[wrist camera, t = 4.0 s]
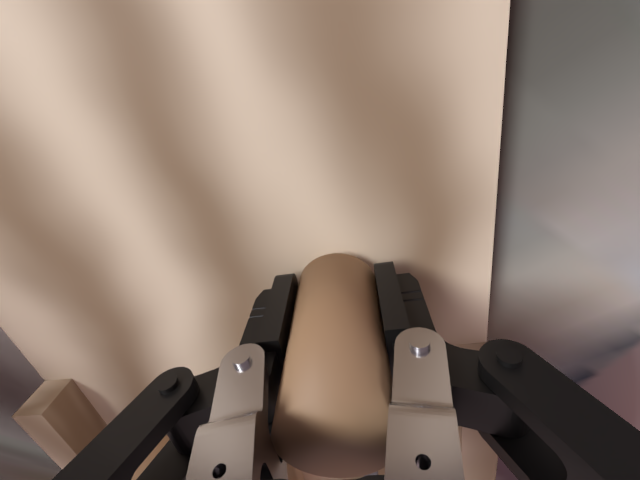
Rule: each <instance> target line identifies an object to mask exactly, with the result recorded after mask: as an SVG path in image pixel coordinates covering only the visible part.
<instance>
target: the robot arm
mask: <svg viewBox="0 0 640 480" xmlns="http://www.w3.org/2000/svg"><path fill="white" fill-rule="evenodd" d="M374 272H375V280H376V286H377V292H378V298H379V305H380V311H381V317H382V323H383V330H384V336H385V342H386V348H387V353H388V357H389V363H390V369H391V375H392V381H393V386H392V401H391V402H390V403H389V409H388V424H387V441H386V458H385V475H367V476H364V477H361V478H358V479H355V480H465V478H464V471H463V463H462V455H461V447H460V439H459V431H458V426H462V427H466V428H470V429H474V430H477V431H478V432H479V434H480V435H481V437H482V438H483V439H484V440H485V441H486V442H487V444H488V445H489V446H490V447H491V448H492V449H493V451H494V452H495V453H496V454H497V455H498V456H499V458H500V459H501V460H502V461H503V462H504V463H505V465H506V466H507V467H508V468H509V469H510V470H511V472H512V473H513V474H514V475H515V476H516V477H517V479H518V480H640V431H639V430H637V429H636V428H635V427H633V426H632V425H631V424H629V423H628V422H627V421H625V420H624V419H623V418H621V417H620V416H618V415H617V414H616V413H615V412H613V411H612V410H611V409H609V408H608V407H606V406H605V405H604V404H603V403H601V402H600V401H599V400H597V399H596V398H594V397H593V396H592V395H590V394H589V393H588V392H587V391H585V390H584V389H583V388H581V387H580V386H579V385H577V384H576V383H575V382H573V381H572V380H571V379H569V378H568V377H567V376H565V375H564V374H563V373H561V372H560V371H558V370H557V369H556V368H554V367H553V366H552V365H550V364H549V363H548V362H546V361H545V360H544V359H542V358H541V357H540V356H538V355H537V354H536V353H534V352H533V351H532V350H530V349H529V348H527V347H526V346H524V345H522V344H520V343H518V342H515V341H511V340H504V339H498V340H492V341H489V342H487V343H485V344H484V345H483V346H482V347H481V348H480V350H479V351H478V350H471V349H465V348H460V347H457V346H454V345H451V344H449V343H448V342H446V341H444V340H443V338H442V337H441V336H440V335H439V334H438V333H437V332H436V330H435V327H434V324H433V322H432V319H431V316H430V313H429V310H428V307H427V305H426V302H425V300H424V296H423V293H422V291H421V288H420V285H419V282H418V280H417V279H416V278H415V277H413V276H412V275H411V274H410V273H403V274H396V271H395V267H394V263H393V261H391V262H383V263H374ZM298 285H299V284H298V281H297V277H296V275H295V273H292V274H283V275H276V276H275V278H274V281H273V285H272V288H271V289H265V290H263V291H262V292H261V293H260V294H259V296H258V297H257V298H256V299H255V302H254V305H253V307H252V310H251V313H250V316H249V317H250V318H249V319H248V322H247V324H246V327H245V330H244V333H243V336H242V338H241V341H240V344H239V346H237V347H235V348H233V349H232V350H230V351H229V352H228V353H227V354H226V355H225V356H224V357H223V359H222V361H221V363H220V367H218V368H216V369H214V370H211V371H208V372H205V373H202V374H200V375H197V376H194V375H193V373H192V371H191V370H190V369H189V368H187V367H175V368H172V369H169V370H167V371H165V372H163V373H162V374H160V375H159V376H157V377H156V378H155V379H154V380H153V381H152V382H151V383H150V384H149V385H148V386H147V387H146V388H145V389H144V390H143V391H142V392H141V393H140V394H139V395H138V396H137V397H136V398H135V399H134V400H133V401H132V402H131V403H130V404H129V405H128V406H127V407H125V408H124V409H123V410H122V411H121V412H120V413H119V414H118V415H117V416H116V417H115V418H114V419H113V420H112V421H111V422H110V423H109V424H108V425H107V426H106V427H105V428H104V429H103V430H102V431H101V432H100V433H99V434H98V435H97V436H96V437H95V438H94V439H93V440H92V441H91V442H90V443H89V444H88V445H87V446H86V447H85V448H84V449H83V450H82V451H81V452H80V453H79V454H78V455H77V456H76V457H75V458H74V459H73V460H71V461H70V462H69V463H68V464H67V465H66V466H65V467H64V468H63V469H62V470H61V471H60V472H59V473H58V474H57V475H56V476H55V477H54V478H53V479H52V480H131V479H132V477H133V475H134V473H135V471H136V470H137V469H138V467H139V466H140V465H141V464H142V463H143V461H144V460H145V459H146V458H147V457H148V456H149V454H150V453H151V452H152V451H153V450H154V448H155V447H156V446H157V445H158V444H159V443H160V441H161V440H162V439H163V438H164V437H165V436H166V434H167V436H168V437H169V439H170V440H169V441H168V442H167V443H166V445H165V446H164V447H163V448H162V449H161V451H160V452H159V453H158V454H157V455H156V457H155V458H154V459H153V460H152V461H151V463H150V464H149V465H148V466H147V467H146V469H145V470H144V471H143V472H142V473H141V475H140V476H139V477H138V478H137V479H136V480H288V474H287V463H286V462H285V461H284V460H283V459H282V458H281V457H280V456H279V455H278V454H277V453H276V450H275V448H274V445H273V443H272V441H271V429H272V423H273V418H274V413H275V407H276V402H277V397H278V391H279V386H280V381H281V375H282V370H283V365H284V359H285V354H286V349H287V343H288V338H289V333H290V327H291V322H292V317H293V311H294V306H295V301H296V295H297V290H298Z"/></svg>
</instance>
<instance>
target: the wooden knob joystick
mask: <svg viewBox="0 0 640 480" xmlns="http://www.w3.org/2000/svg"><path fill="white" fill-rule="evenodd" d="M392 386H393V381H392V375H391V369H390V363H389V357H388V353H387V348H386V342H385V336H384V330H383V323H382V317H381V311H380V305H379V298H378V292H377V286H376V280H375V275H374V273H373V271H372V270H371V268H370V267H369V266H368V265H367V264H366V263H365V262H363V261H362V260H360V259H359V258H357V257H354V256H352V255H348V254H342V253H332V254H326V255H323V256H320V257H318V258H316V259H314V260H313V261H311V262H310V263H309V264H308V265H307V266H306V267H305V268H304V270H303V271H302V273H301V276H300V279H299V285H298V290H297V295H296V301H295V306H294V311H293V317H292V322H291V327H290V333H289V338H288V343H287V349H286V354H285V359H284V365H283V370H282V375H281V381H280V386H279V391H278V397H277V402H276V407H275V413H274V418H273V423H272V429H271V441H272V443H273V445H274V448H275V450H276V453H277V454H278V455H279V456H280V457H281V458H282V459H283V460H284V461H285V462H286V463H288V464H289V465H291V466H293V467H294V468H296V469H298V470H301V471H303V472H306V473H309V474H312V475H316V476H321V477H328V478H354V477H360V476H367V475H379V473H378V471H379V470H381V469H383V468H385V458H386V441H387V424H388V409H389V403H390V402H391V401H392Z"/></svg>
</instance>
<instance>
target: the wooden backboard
mask: <svg viewBox="0 0 640 480" xmlns="http://www.w3.org/2000/svg"><path fill="white" fill-rule="evenodd" d="M509 12H510V0H0V327H1V328H2V329H3V331H4V332H5V333H6V334H7V335H8V337H9V338H10V339H11V340H12V341H13V343H14V344H15V345H16V346H17V348H18V349H19V350H20V351H21V352H22V354H23V355H24V356H25V357H26V359H27V360H28V361H29V362H30V363H31V365H32V366H33V367H34V368H35V369H36V371H37V372H38V373H39V374H40V376H41V377H42V378H43V379H44V380H45V381H44V382H43V383H42V384H41V386H40V387H39V388H38V389H37V390H36V391H35V392H34V393H33V394H32V395H31V396H30V397H29V399H28V400H27V401H26V402H25V403H24V404H23V405H22V406H21V407H20V408H19V409H18V410H17V412H16V413H15V414H14V415H13V416H12V418H13V419H14V420H15V421H16V422H17V423H18V424H19V425H20V426H21V427H22V428H23V429H24V430H25V431H26V432H27V434H28V435H29V436H30V437H31V438H32V439H33V440H34V441H35V442H36V443H37V444H38V445H39V446H40V447H41V448H42V449H43V450H44V451H45V452H46V453H47V454H48V455H49V456H50V457H51V459H52V460H53V461H54V462H55V463H56V464H57V465H58V466H59V467H60V468H61V469H63V468H64V467H65V466H66V465H67V464H68V463H69V462H70V461H71V460H73V459H74V458H75V457H76V456H77V455H78V454H79V453H80V452H81V451H82V450H83V449H84V448H85V447H86V446H87V445H88V444H89V443H90V442H91V441H92V440H93V439H94V438H95V437H96V436H97V435H98V434H99V433H100V432H101V431H102V430H103V429H104V428H105V427H106V426H107V425H108V424H109V423H110V422H111V421H112V420H113V419H114V418H115V417H116V416H117V415H118V414H119V413H120V412H121V411H122V410H123V409H124V408H125V407H127V406H128V405H129V404H130V403H131V402H132V401H133V400H134V399H135V398H136V397H137V396H138V395H139V394H140V393H141V392H142V391H143V390H144V389H145V388H146V387H147V386H148V385H149V384H150V383H151V382H152V381H153V380H154V379H155V378H156V377H157V376H159V375H160V374H162V373H163V372H165V371H167V370H169V369H172V368H175V367H187V368H189V369H190V370H191V371H192V373H193V375H194V376H197V375H200V374H202V373H205V372H208V371H211V370H214V369H216V368H218V367H220V363H221V361H222V359H223V357H224V356H225V355H226V354H227V353H228V352H229V351H230V350H232V349H233V348H235V347H237V346H239V344H240V341H241V338H242V336H243V333H244V330H245V327H246V324H247V322H248V319H249V318H250V317H249V316H250V313H251V310H252V307H253V305H254V302H255V299H256V298H257V297H258V296H259V294H260V293H261V292H262V291H263V290H265V289H271V288H272V285H273V281H274V278H275V276H276V275H283V274H292V273H295V275H296V277H297V281H298V284H299V279H300V276H301V273H302V271H303V270H304V268H305V267H306V266H307V265H308V264H309V263H310V262H311V261H313V260H314V259H316V258H318V257H320V256H323V255H326V254H332V253H342V254H348V255H352V256H354V257H357V258H359V259H360V260H362V261H363V262H365V263H366V264H367V265H368V266H369V267H370V268H371V270H372V271H373V273H374V275H375V272H374V263H383V262H391V261H393V263H394V267H395V271H396V274H403V273H410V274H411V275H412V276H413V277H415V278H416V279H417V280H418V282H419V285H420V288H421V291H422V293H423V296H424V300H425V302H426V305H427V307H428V310H429V313H430V316H431V319H432V322H433V324H434V327H435V330H436V332H437V333H438V334H439V335H440V336H441V337H442V338H443V340H444V341H446V342H448V343H449V344H451V345H454V346H457V347H460V348H465V349H471V350H478V351H479V350H480V348H481V347H482V346H483V345H484V344H485V343H487V329H488V314H489V300H490V286H491V271H492V257H493V242H494V228H495V214H496V199H497V185H498V170H499V156H500V142H501V127H502V113H503V98H504V84H505V69H506V55H507V41H508V26H509ZM458 431H459V439H460V447H461V455H462V463H463V471H464V478H465V480H495V478H496V470H497V460H498V455H497V454H496V453H495V452H494V451H493V449H492V448H491V447H490V446H489V445H488V444H487V442H486V441H485V440H484V439H483V438H482V437H481V435H480V434H479V432H478V431H477V430H474V429H470V428H466V427H462V426H458ZM378 473H379V475H385V468H383V469H381V470H379V471H378ZM287 474H288V480H355V479H358V478H361V477H364V476H360V477H354V478H328V477H321V476H316V475H312V474H309V473H306V472H303V471H301V470H298V469H296V468H294V467H293V466H291V465H289V464H288V463H287Z"/></svg>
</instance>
